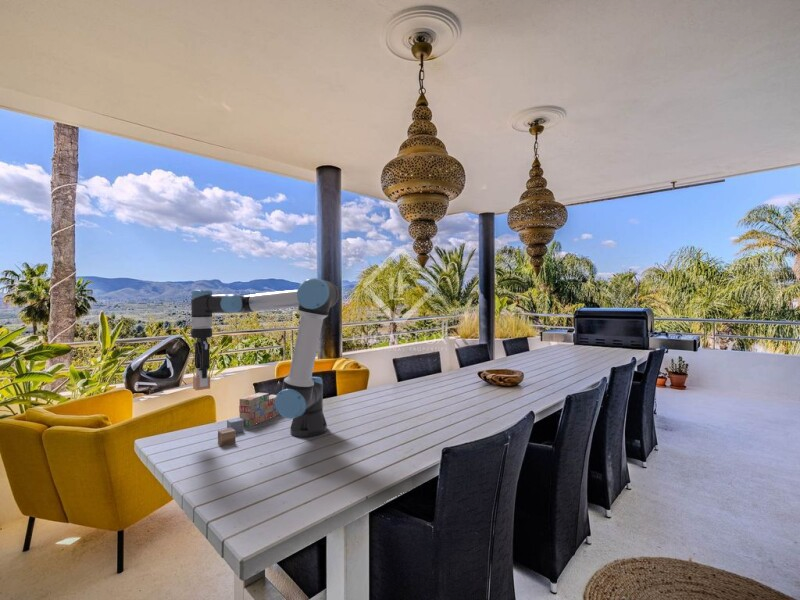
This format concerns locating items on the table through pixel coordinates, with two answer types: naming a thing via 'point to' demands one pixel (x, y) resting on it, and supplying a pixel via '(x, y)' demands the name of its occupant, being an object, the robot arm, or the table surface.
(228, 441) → the walnut cube
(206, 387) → the terracotta cube
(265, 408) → the stack of blocks
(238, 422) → the slate rectangular block
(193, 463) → the table surface
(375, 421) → the table surface
